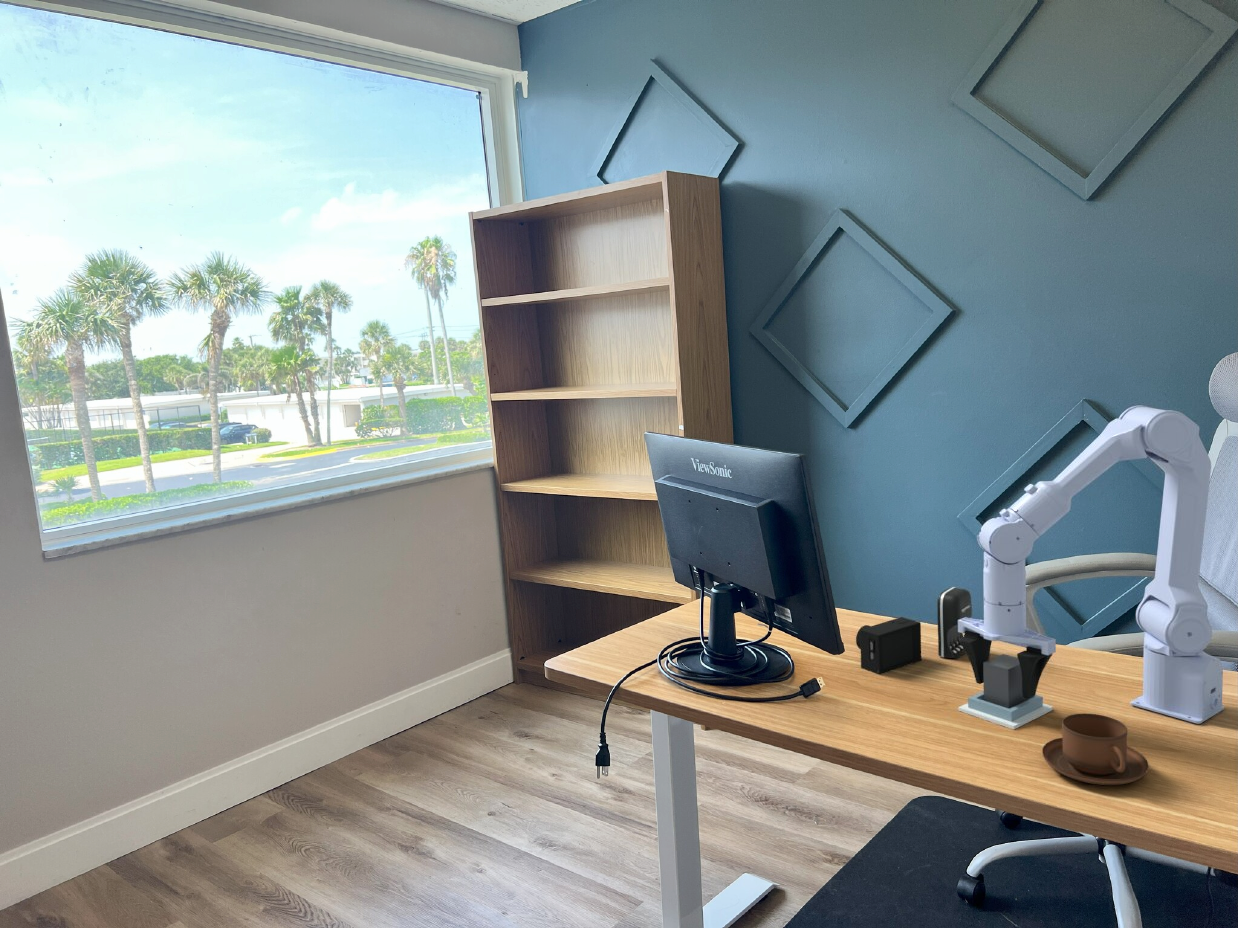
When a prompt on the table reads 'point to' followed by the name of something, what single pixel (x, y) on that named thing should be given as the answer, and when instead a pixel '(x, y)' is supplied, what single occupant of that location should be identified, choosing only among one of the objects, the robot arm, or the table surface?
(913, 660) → the digital camera
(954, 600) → the battery charger
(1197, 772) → the table surface
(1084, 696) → the table surface
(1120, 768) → the cup and saucer
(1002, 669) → the plug
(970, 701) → the socket dock
